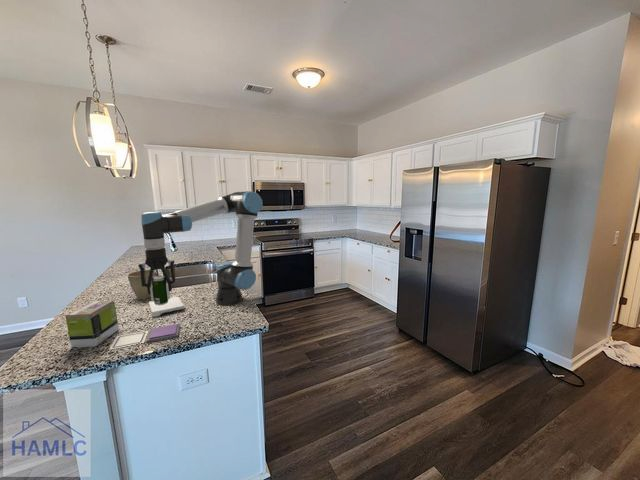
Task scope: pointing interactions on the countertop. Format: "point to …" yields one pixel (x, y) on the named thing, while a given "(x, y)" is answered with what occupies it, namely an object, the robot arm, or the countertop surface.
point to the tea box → (92, 323)
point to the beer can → (159, 290)
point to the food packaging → (166, 306)
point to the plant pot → (139, 283)
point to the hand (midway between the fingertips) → (161, 299)
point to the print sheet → (129, 340)
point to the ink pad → (163, 333)
